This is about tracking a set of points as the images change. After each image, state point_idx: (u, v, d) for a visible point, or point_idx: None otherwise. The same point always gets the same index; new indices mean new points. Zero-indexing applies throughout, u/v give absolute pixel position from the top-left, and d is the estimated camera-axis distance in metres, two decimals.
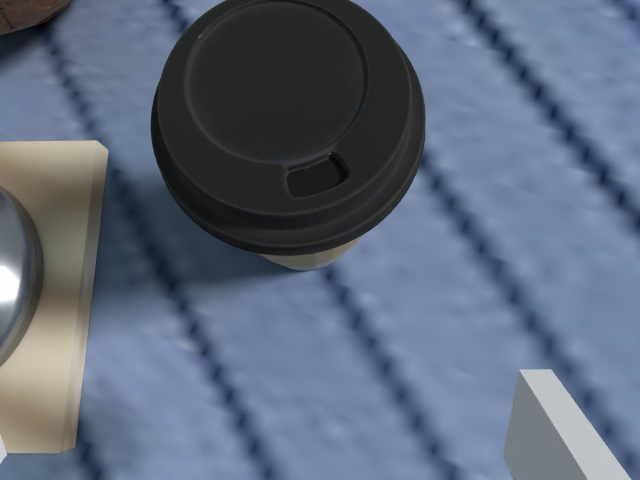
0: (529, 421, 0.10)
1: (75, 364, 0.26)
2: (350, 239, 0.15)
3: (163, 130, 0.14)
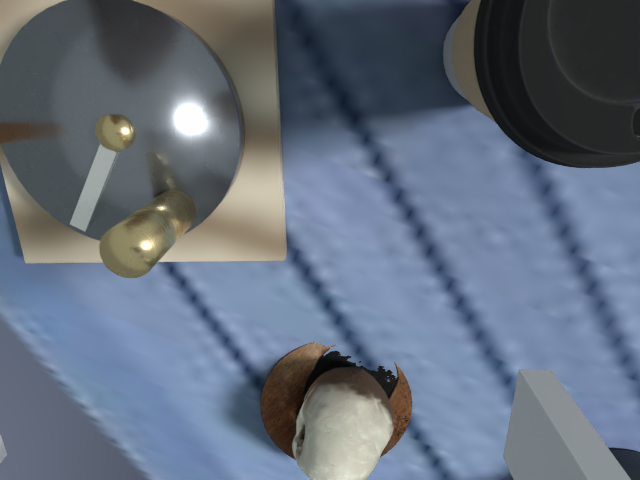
0: (529, 421, 0.10)
1: (282, 193, 0.30)
2: None
3: (523, 70, 0.15)
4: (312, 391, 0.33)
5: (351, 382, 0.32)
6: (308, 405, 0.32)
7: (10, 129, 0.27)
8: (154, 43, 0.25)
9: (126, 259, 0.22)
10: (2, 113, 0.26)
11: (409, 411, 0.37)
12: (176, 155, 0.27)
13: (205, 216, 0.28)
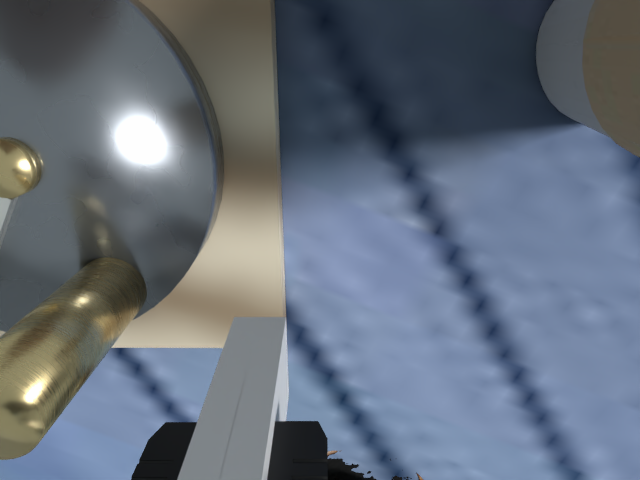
0: None
1: (281, 252, 0.20)
2: None
3: None
4: None
5: None
6: None
7: None
8: (65, 19, 0.14)
9: None
10: None
11: None
12: (111, 204, 0.17)
13: (160, 296, 0.18)
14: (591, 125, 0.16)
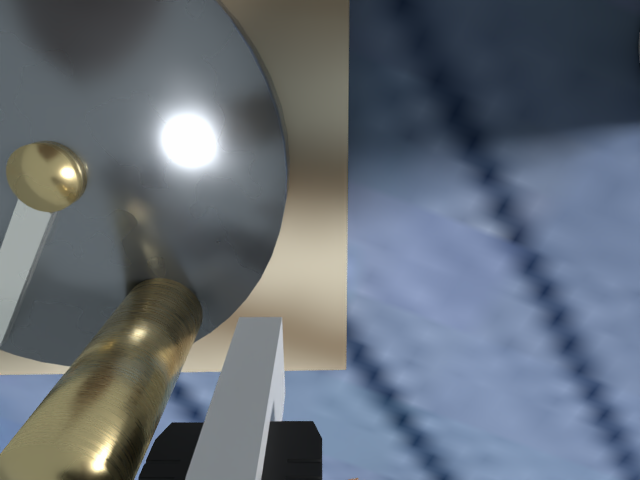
0: None
1: None
2: None
3: None
4: None
5: None
6: None
7: None
8: (122, 2, 0.12)
9: None
10: None
11: None
12: (167, 218, 0.14)
13: (218, 322, 0.16)
14: None
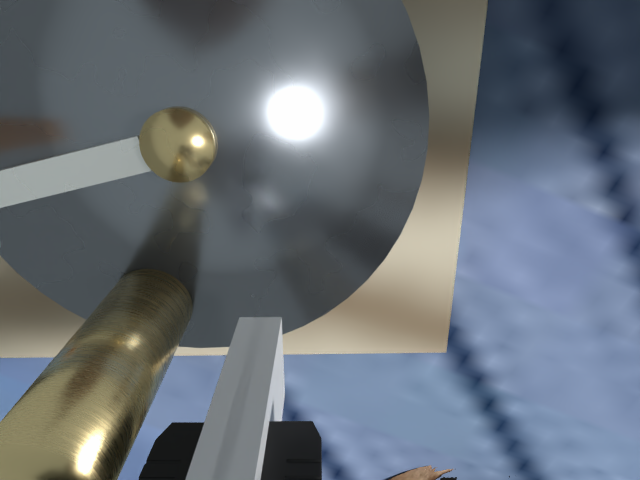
0: None
1: None
2: None
3: None
4: None
5: None
6: None
7: None
8: (369, 100, 0.13)
9: None
10: None
11: None
12: (234, 249, 0.14)
13: (187, 344, 0.16)
14: None
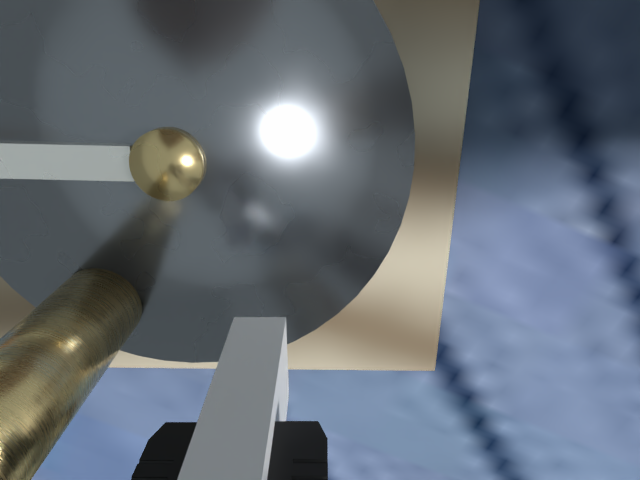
0: None
1: None
2: None
3: None
4: None
5: None
6: None
7: None
8: (358, 170, 0.13)
9: None
10: None
11: None
12: (196, 272, 0.15)
13: (127, 349, 0.16)
14: None
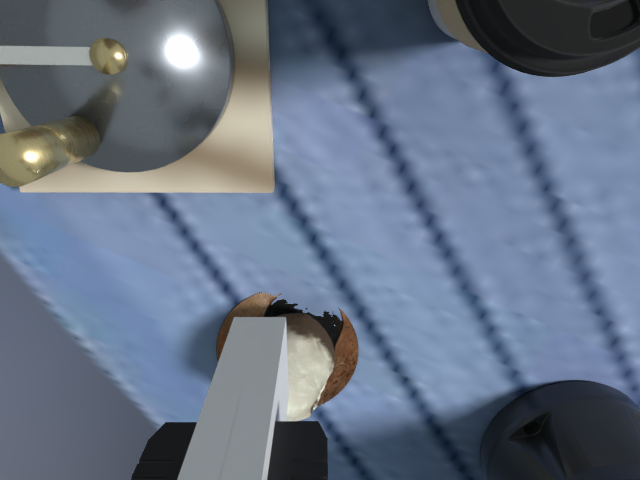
0: None
1: (270, 126, 0.32)
2: None
3: None
4: None
5: (292, 324, 0.34)
6: None
7: None
8: (202, 60, 0.27)
9: (2, 162, 0.23)
10: None
11: (356, 353, 0.39)
12: (126, 117, 0.29)
13: (93, 164, 0.30)
14: (451, 34, 0.27)
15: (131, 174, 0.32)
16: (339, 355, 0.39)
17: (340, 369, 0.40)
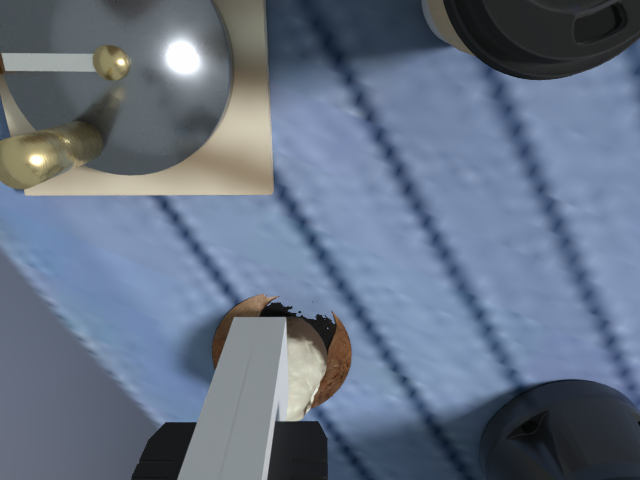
0: None
1: (269, 129, 0.32)
2: None
3: None
4: None
5: None
6: None
7: None
8: (202, 65, 0.28)
9: (9, 166, 0.23)
10: None
11: (349, 356, 0.40)
12: (129, 122, 0.29)
13: (96, 168, 0.31)
14: None
15: (133, 177, 0.33)
16: (333, 358, 0.40)
17: (334, 372, 0.41)
